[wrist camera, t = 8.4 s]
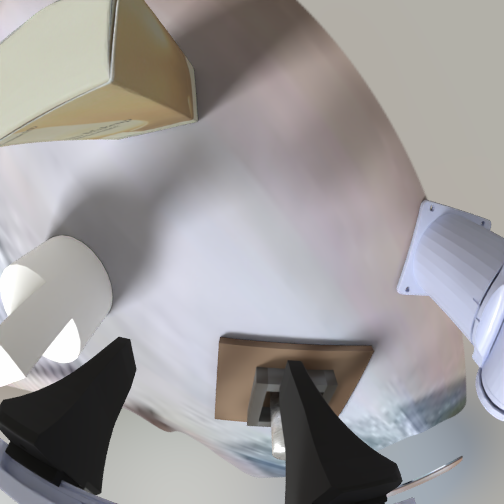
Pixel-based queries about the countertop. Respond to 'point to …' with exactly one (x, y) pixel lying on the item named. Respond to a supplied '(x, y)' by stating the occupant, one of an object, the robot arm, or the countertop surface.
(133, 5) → the skincare box
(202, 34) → the countertop surface
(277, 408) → the clear glass cylinder
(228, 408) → the dock
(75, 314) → the cylinder with rectangular tab
